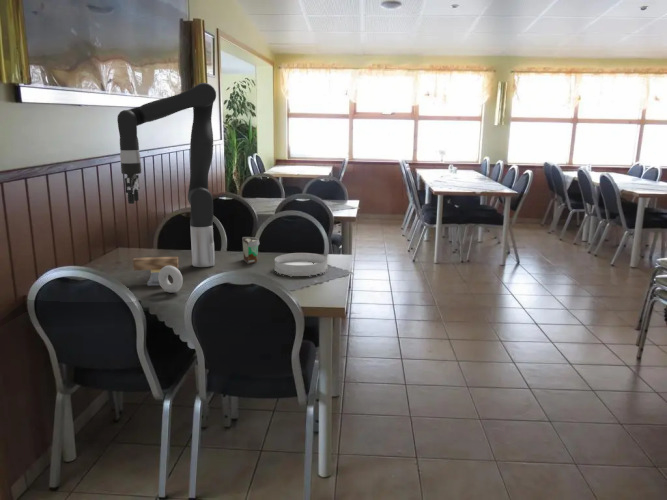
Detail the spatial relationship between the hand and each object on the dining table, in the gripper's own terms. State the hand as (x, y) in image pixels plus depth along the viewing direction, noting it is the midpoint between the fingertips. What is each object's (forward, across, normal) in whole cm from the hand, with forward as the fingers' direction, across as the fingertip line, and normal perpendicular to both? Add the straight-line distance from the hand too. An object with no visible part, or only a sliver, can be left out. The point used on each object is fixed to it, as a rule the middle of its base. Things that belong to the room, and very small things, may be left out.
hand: (133, 202), depth 223 cm
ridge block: (+28, -21, -11) cm, 37 cm away
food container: (+28, +8, -47) cm, 55 cm away
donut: (+28, -35, -18) cm, 48 cm away
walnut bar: (+23, -21, -11) cm, 33 cm away
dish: (+29, -9, -67) cm, 73 cm away
